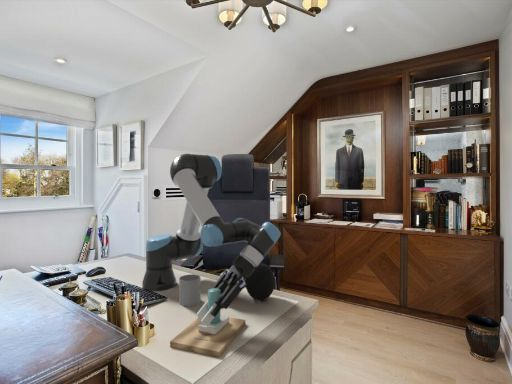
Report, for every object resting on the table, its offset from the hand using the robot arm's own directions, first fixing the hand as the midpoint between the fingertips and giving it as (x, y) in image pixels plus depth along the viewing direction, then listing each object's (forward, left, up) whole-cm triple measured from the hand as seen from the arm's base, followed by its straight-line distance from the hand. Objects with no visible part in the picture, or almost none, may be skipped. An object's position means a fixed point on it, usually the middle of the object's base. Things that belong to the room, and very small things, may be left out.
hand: (201, 320), depth 91 cm
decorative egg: (+8, +33, -5) cm, 35 cm away
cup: (-18, +21, -5) cm, 28 cm away
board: (+2, +1, -5) cm, 5 cm away
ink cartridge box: (-4, +28, -5) cm, 29 cm away
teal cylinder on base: (+3, +3, -3) cm, 5 cm away
